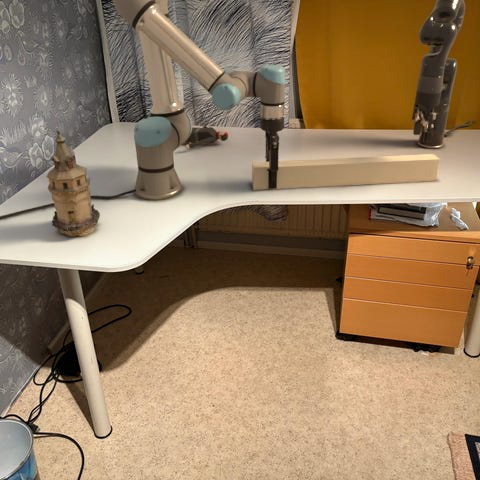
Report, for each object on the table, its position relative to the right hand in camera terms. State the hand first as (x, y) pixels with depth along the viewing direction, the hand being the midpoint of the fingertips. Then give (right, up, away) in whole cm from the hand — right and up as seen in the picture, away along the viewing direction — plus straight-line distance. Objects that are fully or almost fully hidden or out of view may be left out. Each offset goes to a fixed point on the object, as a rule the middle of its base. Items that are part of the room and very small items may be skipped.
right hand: (421, 138), depth 177 cm
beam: (-25, -14, +5) cm, 29 cm away
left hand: (-50, -15, +3) cm, 52 cm away
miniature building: (-107, -30, -22) cm, 113 cm away
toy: (-80, +6, +43) cm, 91 cm away
